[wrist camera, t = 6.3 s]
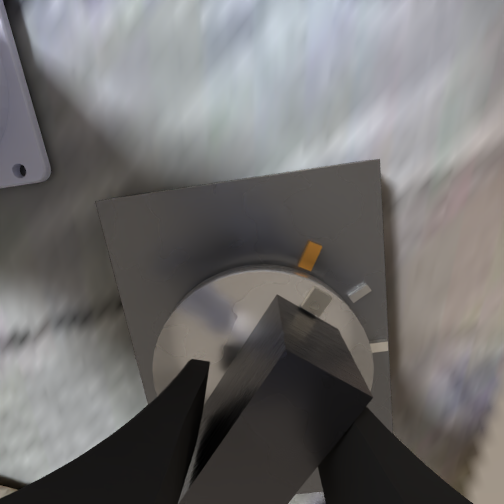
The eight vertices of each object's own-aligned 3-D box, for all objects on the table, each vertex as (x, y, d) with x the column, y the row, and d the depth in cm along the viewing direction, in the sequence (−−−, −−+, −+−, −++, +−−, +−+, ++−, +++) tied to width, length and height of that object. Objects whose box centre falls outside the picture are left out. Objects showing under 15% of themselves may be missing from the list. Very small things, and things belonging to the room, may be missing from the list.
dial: (293, 475, 14) (309, 610, 10) (125, 392, 13) (61, 500, 9) (407, 331, 12) (488, 417, 8) (223, 223, 11) (203, 255, 7)
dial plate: (182, 476, 16) (173, 510, 15) (113, 198, 13) (92, 201, 11) (382, 455, 16) (397, 488, 14) (365, 160, 12) (381, 159, 11)
